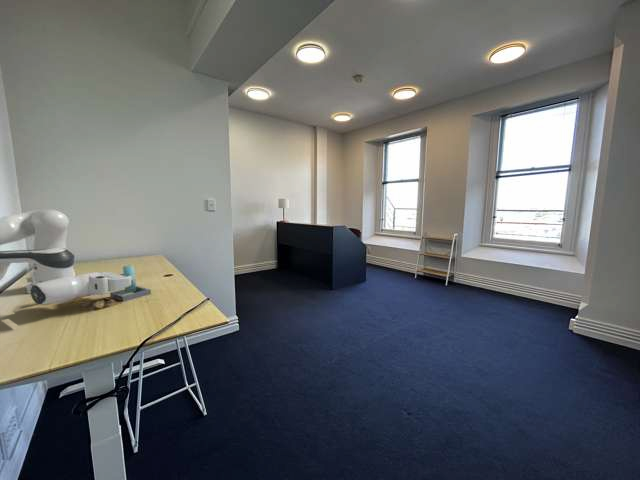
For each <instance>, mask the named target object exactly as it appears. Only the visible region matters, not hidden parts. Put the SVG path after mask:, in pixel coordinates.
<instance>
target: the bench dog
mask: <svg viewBox="0 0 640 480" xmlns="http://www.w3.org/2000/svg"><path fill="white" fill-rule="evenodd" d="M94 305H95V309H96V311H99V310H98V309H100V310H102V309H106V308H105V302H104V301H97V302H94Z"/></svg>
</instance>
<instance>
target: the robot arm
mask: <svg viewBox="0 0 640 480" xmlns="http://www.w3.org/2000/svg"><path fill="white" fill-rule="evenodd" d="M69 224H70V220H69V218H68V217H67V215H66V214H64V213H63V212H61V211H59V210H57V209H36V210H35V209H34V210H29V211H26V212H20V213H16V214H12V215H9V216H4V217H0V246H2V245H3V246H4V245H6V244H10V243H14V242H18V241H21V240H23V239H26V238H29V237H32V236H34V240H33V241H34V242H33V246H32V247H33V249H21V250H20V249H19V250H0V281H2V279H3V278H5V275H6V274H7V272H8V269H9V267H10V266H11V264H18V263H20V264H22V263H33V269H34V271H33V272H32V274H31V276H29V277H27V278H26V282H27V283H30V284H28V285H26V286H25V289H26V293H27V294H30V296H31V299H32V300H33V302H34V303H36V304H37V305H40V306H46V305H54V303H55V304H60V303H65V301H66V302H70V301H69V300H71V301H73V300H72V299H75V298H78V297H83V298H85V297H90V296H95V295H98V296H99V295H102V296H103V295H104V296H105V295H107V294H110V292H114V291H119V290H123V289H125V288H126V287H129V286H130V285H131V280H133V279H135V280H136V279H137V276H136V274H135V275H129V276H124V273H115V272H114V273H113V272H111V271H103V272H97V271H95V272H89V273H88V272H87V273H82V274H77V275H76V273H75V269H74V264H75V255H74V253H72V252H71V251H69V250H68V249H67V237H68V226H69Z"/></svg>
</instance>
